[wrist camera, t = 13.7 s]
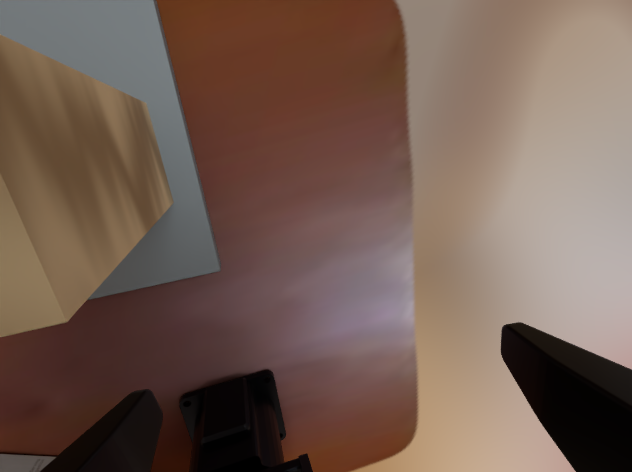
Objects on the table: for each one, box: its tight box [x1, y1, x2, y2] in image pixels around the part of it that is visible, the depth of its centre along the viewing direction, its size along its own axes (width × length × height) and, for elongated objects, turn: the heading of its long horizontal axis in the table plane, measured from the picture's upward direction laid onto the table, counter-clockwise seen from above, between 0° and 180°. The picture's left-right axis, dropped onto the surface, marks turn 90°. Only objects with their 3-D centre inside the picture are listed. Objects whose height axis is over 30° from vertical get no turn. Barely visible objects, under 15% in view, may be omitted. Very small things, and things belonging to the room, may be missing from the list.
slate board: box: [0, 0, 221, 300], centre depth 16 cm, size 14×8×1 cm, turn 8°
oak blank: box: [0, 35, 174, 337], centre depth 10 cm, size 5×5×12 cm
